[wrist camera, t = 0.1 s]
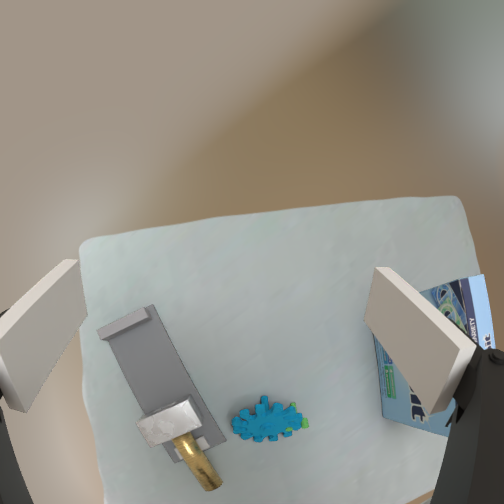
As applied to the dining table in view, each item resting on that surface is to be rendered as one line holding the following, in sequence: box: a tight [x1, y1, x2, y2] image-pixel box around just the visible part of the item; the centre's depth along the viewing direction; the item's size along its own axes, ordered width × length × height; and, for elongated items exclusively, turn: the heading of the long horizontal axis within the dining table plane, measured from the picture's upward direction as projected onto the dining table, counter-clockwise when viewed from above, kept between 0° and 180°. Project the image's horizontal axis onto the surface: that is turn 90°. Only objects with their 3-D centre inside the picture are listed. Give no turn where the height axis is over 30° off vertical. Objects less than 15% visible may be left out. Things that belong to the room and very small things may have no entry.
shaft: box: [171, 431, 223, 491], centre depth 39 cm, size 13×3×3 cm, turn 28°
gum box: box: [374, 274, 495, 437], centre depth 38 cm, size 20×5×23 cm, turn 7°
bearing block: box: [136, 394, 204, 448], centre depth 40 cm, size 4×8×6 cm, turn 118°
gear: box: [232, 396, 309, 442], centre depth 43 cm, size 11×6×10 cm
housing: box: [97, 304, 226, 463], centre depth 42 cm, size 24×9×4 cm, turn 28°
